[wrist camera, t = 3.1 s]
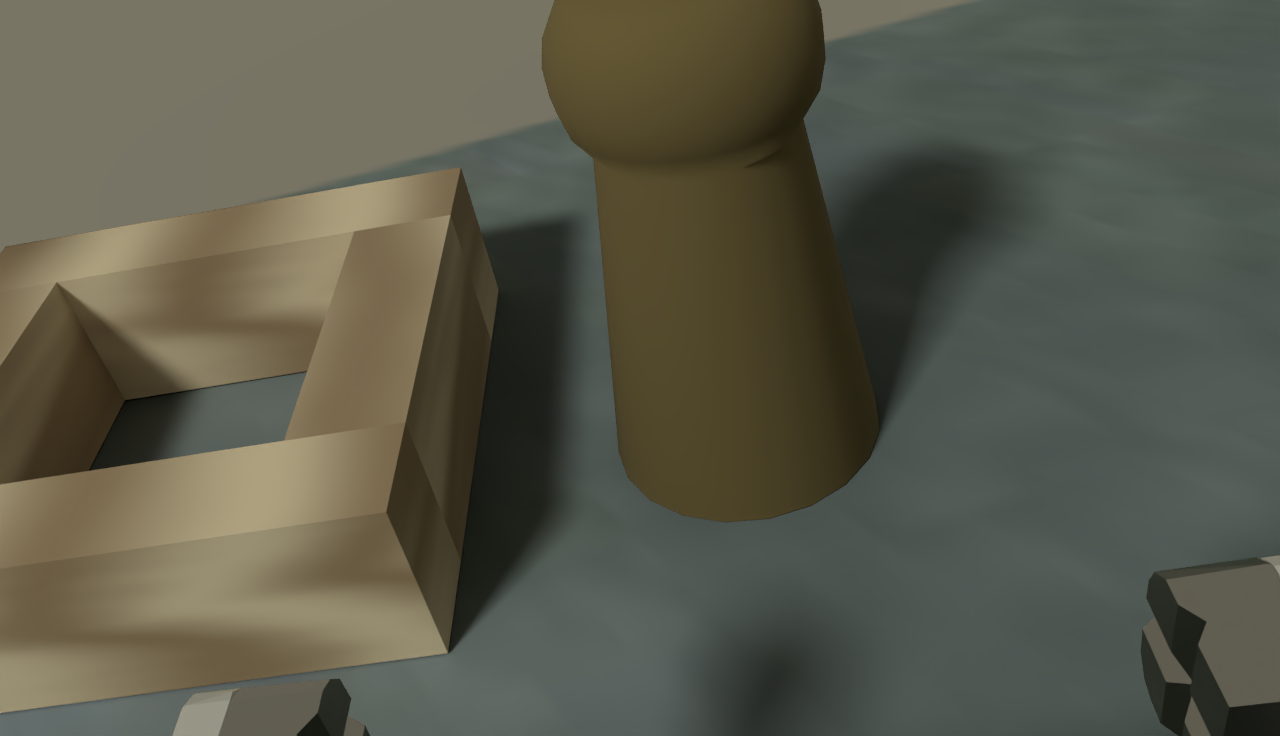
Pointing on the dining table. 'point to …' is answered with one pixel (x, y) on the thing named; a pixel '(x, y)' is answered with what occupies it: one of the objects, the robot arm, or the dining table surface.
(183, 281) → the socket block
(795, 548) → the dining table surface
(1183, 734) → the robot arm
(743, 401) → the cork
